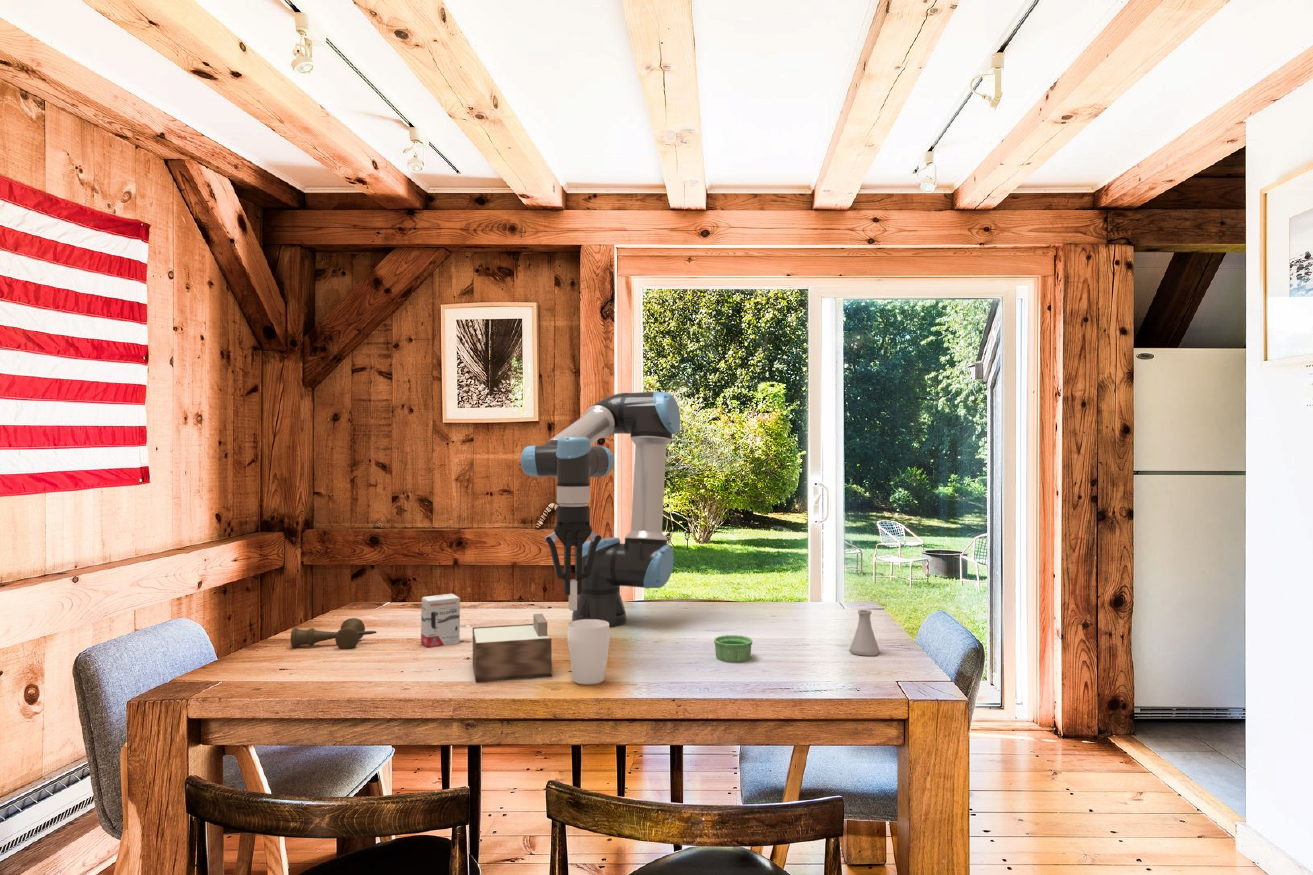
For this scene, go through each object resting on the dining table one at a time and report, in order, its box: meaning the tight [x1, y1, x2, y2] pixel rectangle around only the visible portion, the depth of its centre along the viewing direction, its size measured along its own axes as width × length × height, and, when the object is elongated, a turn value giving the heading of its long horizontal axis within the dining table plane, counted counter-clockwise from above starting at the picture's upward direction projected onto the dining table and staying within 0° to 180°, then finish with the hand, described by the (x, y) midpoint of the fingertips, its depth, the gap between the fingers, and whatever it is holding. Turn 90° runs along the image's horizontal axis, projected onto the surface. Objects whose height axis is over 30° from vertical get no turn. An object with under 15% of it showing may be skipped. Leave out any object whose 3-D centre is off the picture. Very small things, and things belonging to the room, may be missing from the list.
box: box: [472, 623, 553, 683], centre depth 180 cm, size 16×15×8 cm
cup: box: [566, 619, 611, 686], centre depth 172 cm, size 9×9×12 cm
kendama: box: [290, 617, 377, 650], centre depth 202 cm, size 6×10×20 cm
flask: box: [849, 609, 881, 657], centre depth 194 cm, size 7×7×10 cm
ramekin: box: [713, 634, 753, 663], centre depth 190 cm, size 9×9×4 cm
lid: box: [474, 613, 551, 643], centre depth 180 cm, size 16×13×4 cm
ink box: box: [420, 593, 461, 649], centre depth 203 cm, size 8×5×12 cm, turn 123°
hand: (572, 609), depth 184 cm, fingers closed
